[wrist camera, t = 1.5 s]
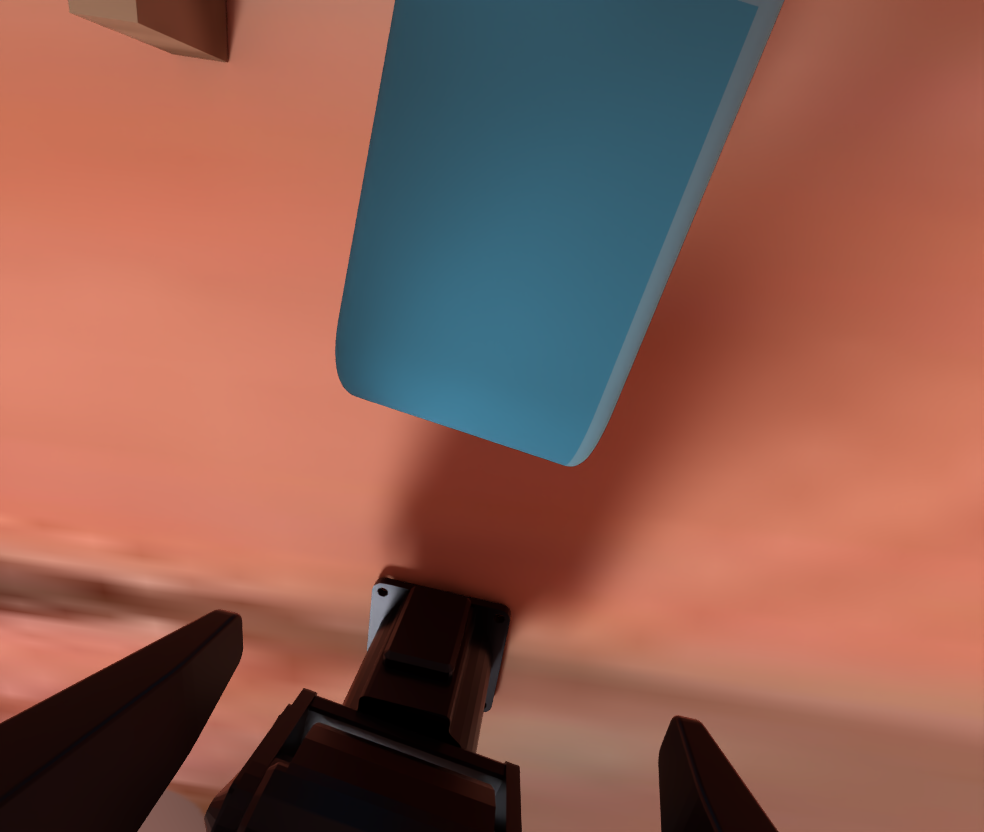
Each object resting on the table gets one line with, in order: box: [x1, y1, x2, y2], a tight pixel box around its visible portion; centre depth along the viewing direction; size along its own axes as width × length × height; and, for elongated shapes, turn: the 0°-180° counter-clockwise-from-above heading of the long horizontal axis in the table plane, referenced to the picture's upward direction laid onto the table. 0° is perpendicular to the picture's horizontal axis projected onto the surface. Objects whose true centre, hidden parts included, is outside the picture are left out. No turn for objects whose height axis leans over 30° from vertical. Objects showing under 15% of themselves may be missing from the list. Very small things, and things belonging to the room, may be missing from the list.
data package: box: [335, 0, 784, 466], centre depth 12 cm, size 12×4×12 cm, turn 164°
